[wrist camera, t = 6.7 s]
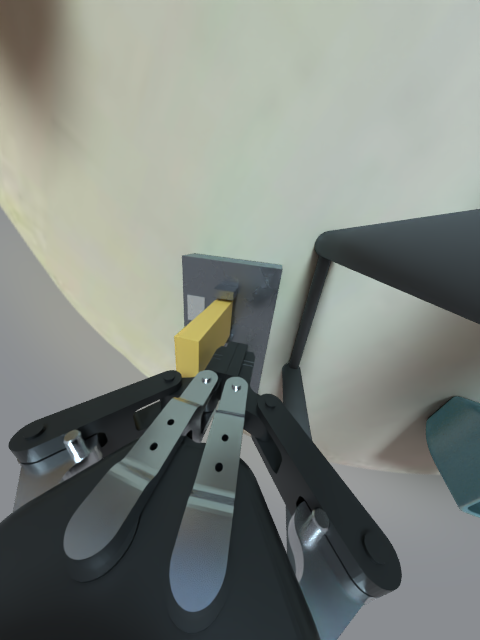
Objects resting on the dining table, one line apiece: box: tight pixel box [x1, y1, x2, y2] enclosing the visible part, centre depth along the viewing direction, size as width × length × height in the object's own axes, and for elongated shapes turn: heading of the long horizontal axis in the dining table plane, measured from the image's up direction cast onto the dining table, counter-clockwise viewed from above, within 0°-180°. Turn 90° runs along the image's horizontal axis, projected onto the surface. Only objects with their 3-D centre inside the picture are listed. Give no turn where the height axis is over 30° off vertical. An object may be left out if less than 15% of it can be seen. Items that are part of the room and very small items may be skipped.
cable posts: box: [282, 209, 480, 575], centre depth 13 cm, size 2×18×18 cm, turn 174°
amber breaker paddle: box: [174, 298, 233, 378], centre depth 15 cm, size 2×4×8 cm, turn 174°
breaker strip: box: [182, 253, 282, 393], centre depth 22 cm, size 10×20×5 cm, turn 174°
